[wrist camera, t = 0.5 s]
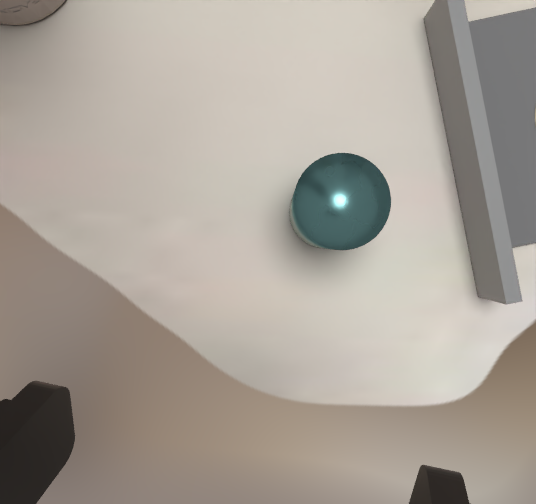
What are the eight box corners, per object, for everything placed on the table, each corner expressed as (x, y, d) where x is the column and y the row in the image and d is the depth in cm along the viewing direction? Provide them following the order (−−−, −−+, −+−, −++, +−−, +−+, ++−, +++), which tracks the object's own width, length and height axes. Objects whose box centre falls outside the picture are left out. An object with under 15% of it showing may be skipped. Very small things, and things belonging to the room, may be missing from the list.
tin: (283, 185, 32) (285, 163, 23) (352, 171, 32) (380, 144, 23) (297, 254, 33) (304, 258, 24) (365, 240, 32) (399, 239, 23)
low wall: (423, 18, 32) (444, -14, 28) (437, 15, 32) (460, -17, 28) (478, 296, 32) (506, 304, 28) (492, 294, 32) (522, 301, 28)
